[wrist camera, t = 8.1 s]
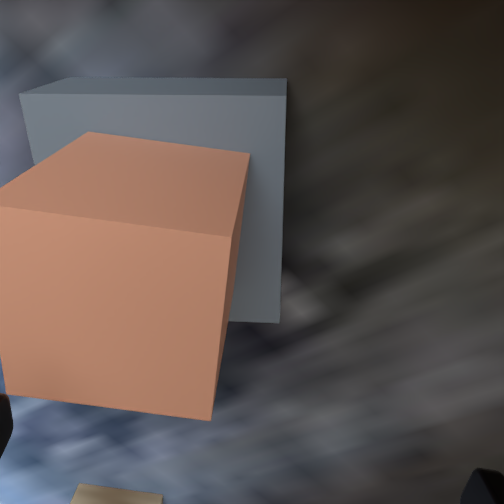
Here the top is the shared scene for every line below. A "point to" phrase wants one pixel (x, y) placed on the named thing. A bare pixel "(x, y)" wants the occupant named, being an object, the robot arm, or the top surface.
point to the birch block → (112, 496)
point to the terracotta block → (120, 274)
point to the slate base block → (188, 133)
